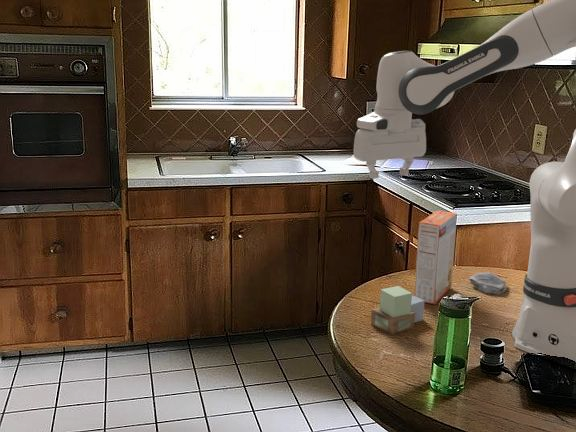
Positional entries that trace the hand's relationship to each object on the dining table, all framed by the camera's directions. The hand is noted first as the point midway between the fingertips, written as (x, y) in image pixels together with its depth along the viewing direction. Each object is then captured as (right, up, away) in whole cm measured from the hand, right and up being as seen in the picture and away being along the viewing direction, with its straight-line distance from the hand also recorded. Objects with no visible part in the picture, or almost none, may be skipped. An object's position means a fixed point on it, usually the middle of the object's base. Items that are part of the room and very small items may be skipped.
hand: (389, 176), depth 160 cm
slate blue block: (+4, -34, -6) cm, 35 cm away
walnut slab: (-1, -35, -10) cm, 37 cm away
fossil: (+29, -29, +15) cm, 44 cm away
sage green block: (0, -32, -11) cm, 34 cm away
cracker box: (+13, -30, +9) cm, 34 cm away
